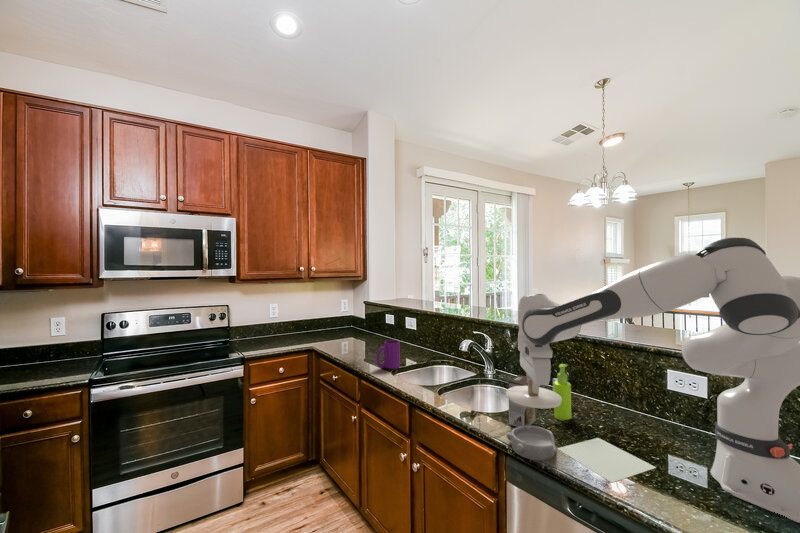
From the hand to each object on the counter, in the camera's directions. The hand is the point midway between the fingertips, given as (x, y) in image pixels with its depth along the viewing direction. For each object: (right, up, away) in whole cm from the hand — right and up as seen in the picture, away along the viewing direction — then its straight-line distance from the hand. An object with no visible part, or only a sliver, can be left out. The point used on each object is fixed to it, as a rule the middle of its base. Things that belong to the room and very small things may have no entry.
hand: (533, 389), depth 104 cm
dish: (0, -20, +1) cm, 20 cm away
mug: (-49, -21, +89) cm, 104 cm away
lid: (0, -3, 0) cm, 3 cm away
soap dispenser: (+21, -20, +24) cm, 37 cm away
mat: (+19, -19, -5) cm, 27 cm away
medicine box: (+28, -20, +39) cm, 52 cm away
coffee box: (+4, -20, +19) cm, 28 cm away
